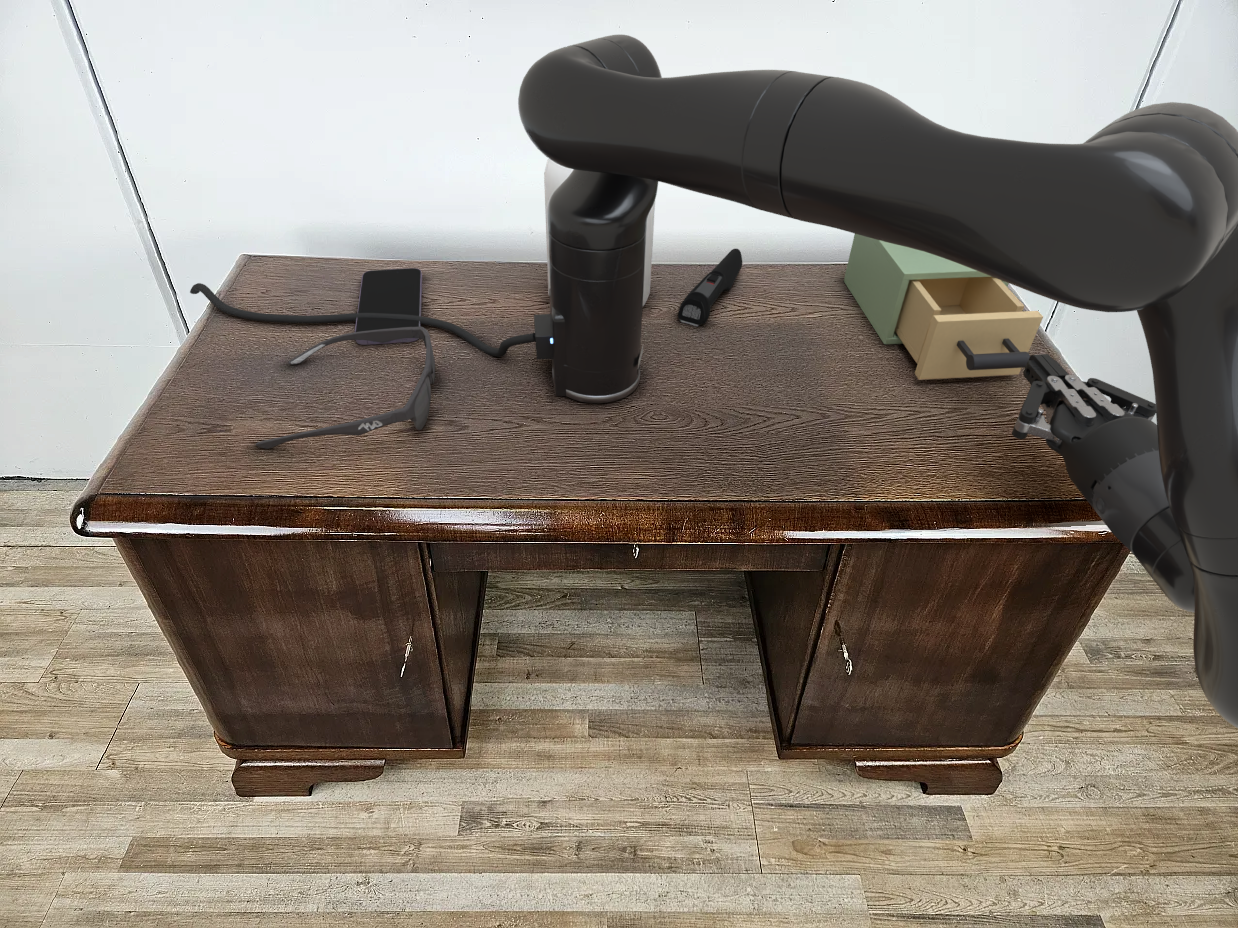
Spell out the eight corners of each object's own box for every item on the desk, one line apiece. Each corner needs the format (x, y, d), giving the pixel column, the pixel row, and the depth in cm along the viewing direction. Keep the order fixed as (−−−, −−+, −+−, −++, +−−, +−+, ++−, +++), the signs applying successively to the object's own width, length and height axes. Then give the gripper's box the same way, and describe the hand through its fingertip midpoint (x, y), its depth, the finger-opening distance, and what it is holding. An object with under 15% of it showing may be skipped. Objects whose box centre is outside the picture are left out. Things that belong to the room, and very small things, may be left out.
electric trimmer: (748, 273, 107) (751, 250, 105) (704, 328, 96) (706, 304, 94) (721, 266, 108) (724, 244, 106) (674, 320, 97) (676, 296, 95)
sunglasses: (433, 451, 79) (420, 410, 75) (260, 471, 79) (239, 431, 75) (447, 353, 91) (437, 314, 87) (298, 370, 91) (281, 332, 88)
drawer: (1038, 398, 86) (1065, 339, 81) (934, 404, 85) (955, 345, 80) (965, 309, 99) (984, 254, 94) (874, 313, 98) (889, 257, 93)
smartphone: (353, 340, 91) (362, 270, 102) (354, 348, 92) (363, 278, 103) (419, 336, 92) (422, 267, 103) (421, 344, 93) (423, 275, 104)
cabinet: (987, 339, 96) (1014, 269, 90) (884, 344, 94) (904, 273, 88) (936, 277, 107) (957, 211, 100) (843, 281, 105) (859, 214, 99)
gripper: (1246, 446, 62) (1116, 324, 75) (1083, 457, 61) (980, 331, 74) (1197, 516, 67) (1084, 390, 80) (1046, 527, 66) (955, 397, 79)
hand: (1034, 362), depth 77 cm, fingers closed
